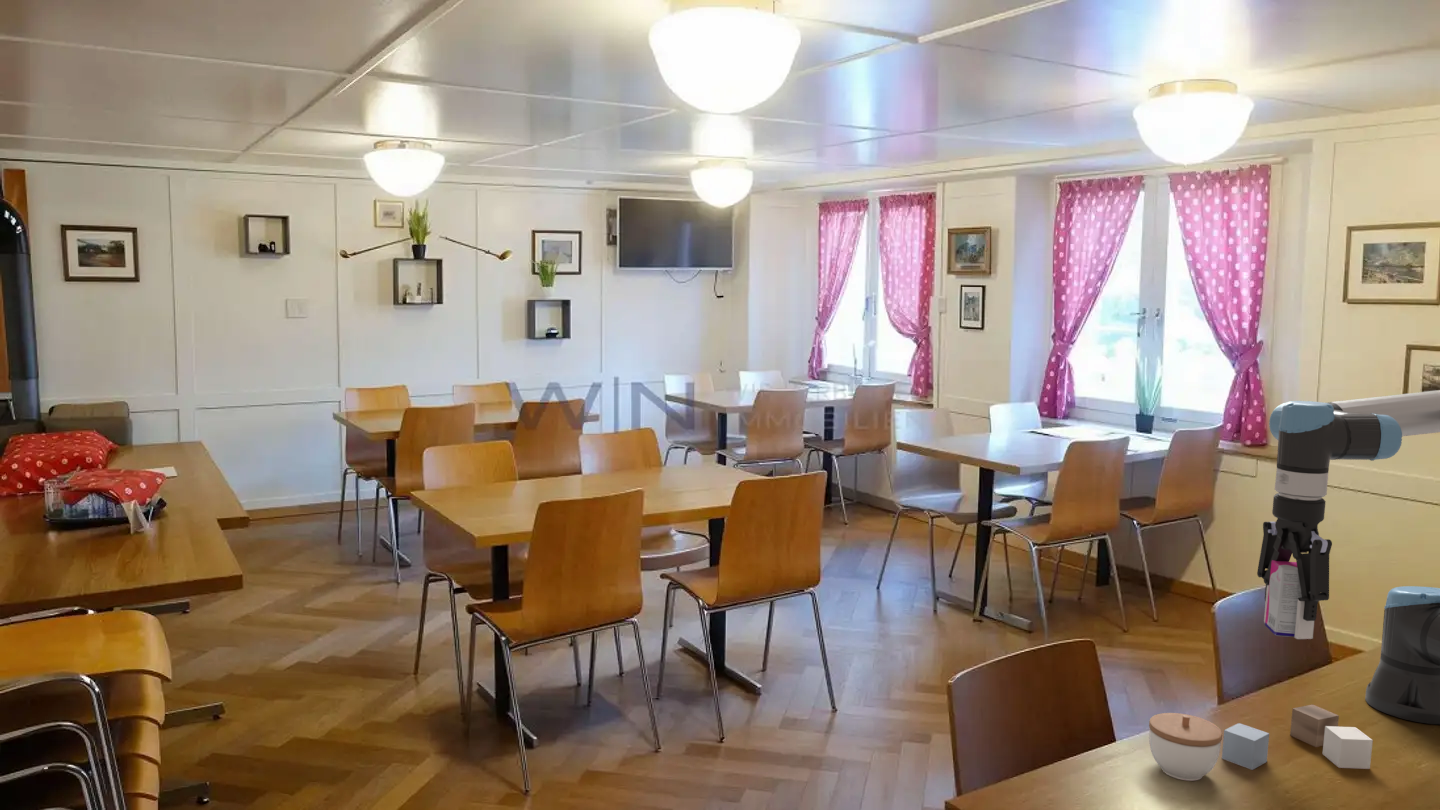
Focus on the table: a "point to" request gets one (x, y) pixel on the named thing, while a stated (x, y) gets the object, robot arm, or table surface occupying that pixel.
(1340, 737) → the off-white cube
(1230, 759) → the slate-blue cube
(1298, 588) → the supplement box
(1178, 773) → the lidded jar
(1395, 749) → the table surface
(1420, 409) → the robot arm
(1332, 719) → the walnut cube
